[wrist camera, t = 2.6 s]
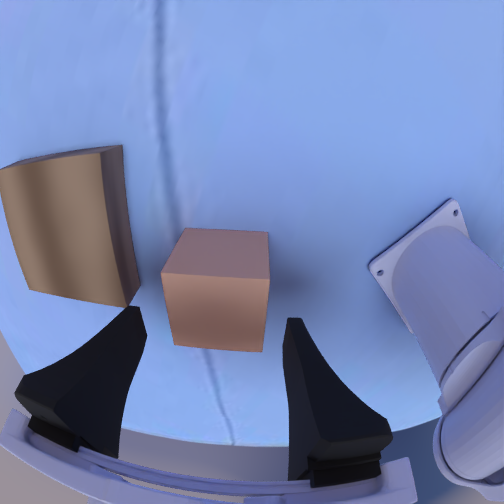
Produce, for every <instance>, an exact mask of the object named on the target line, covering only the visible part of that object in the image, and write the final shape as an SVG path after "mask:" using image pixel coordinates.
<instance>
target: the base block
mask: <svg viewBox="0 0 504 504" xmlns="http://www.w3.org/2000/svg"><path fill="white" fill-rule="evenodd" d="M0 193H1V198H2V203H3V208H4V212H5V216H6V220H7V224H8V228H9V232H10V235H11V239H12V242H13V245H14V248H15V252H16V255H17V258H18V261H19V264H20V266H21V269H22V272H23V274H24V277H25V280H26V282H27V285H28V287H29V290H33V291H38V292H42V293H47V294H51V295H56V296H61V297H66V298H71V299H76V300H81V301H87V302H92V303H98V304H104V305H110V306H116V307H123V308H126V307H127V306H129V304H130V303H131V301H132V299H133V297H134V296H135V294H136V292H137V290H138V289H139V287H140V281H139V276H138V271H137V266H136V260H135V255H134V249H133V243H132V236H131V230H130V223H129V215H128V207H127V198H126V189H125V178H124V165H123V148H122V145H116V146H106V147H97V148H89V149H82V150H75V151H68V152H62V153H56V154H50V155H45V156H40V157H35V158H30V159H25V160H21V161H18V162H15V163H13V164H11V165H8V166H6V167H4V168H2V169H0Z"/></svg>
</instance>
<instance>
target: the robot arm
mask: <svg viewBox="0 0 504 504" xmlns="http://www.w3.org/2000/svg"><path fill="white" fill-rule="evenodd" d="M454 210H455V213H454V214H453V212H454ZM369 270H370V272H371V273H372V275H373V276H374V277H375V279H376V280H377V282H378V283H379V285H380V286H381V288H382V289H383V291H384V292H385V293H386V295H387V296H388V298H389V299H390V301H391V303H392V304H393V306H394V307H395V309H396V310H397V312H398V313H399V315H400V316H401V318H402V320H403V321H404V323H405V324H406V326H407V328H408V329H409V331H410V332H411V333H414V334H415V336H416V338H417V340H418V342H419V344H420V346H421V348H422V350H423V352H424V355H425V357H426V359H427V361H428V363H429V365H430V367H431V370H432V372H433V374H434V376H435V378H436V381H437V383H438V385H439V388H440V389H441V393H442V394H441V396H440V398H439V399H438V403H439V406H440V409H441V411H442V414H443V415H442V416H441V418H440V420H439V421H438V423H437V426H436V429H435V432H434V437H433V453H434V457H435V461H436V463H437V466H438V468H439V469H440V471H441V473H442V474H443V475H444V476H445V477H446V478H447V479H448V480H450V481H451V482H453V483H455V484H457V485H463V486H468V487H471V488H474V489H476V490H477V491H479V492H480V493H481V494H482V495H483V496H484V497H485V498H486V499H487V500H490V501H500V502H504V271H503V270H502V269H501V268H500V267H499V266H498V265H497V264H496V263H495V262H494V261H493V260H492V259H491V258H490V257H489V256H488V255H487V254H485V253H484V252H483V251H482V250H481V249H480V248H479V247H478V246H477V245H476V244H474V243H473V242H472V241H471V240H470V237H469V234H468V231H467V228H466V224H465V221H464V218H463V215H462V213H461V210H460V207H459V204H458V202H457V201H456V200H454V199H450V200H448V201H447V202H446V203H445V204H444V205H442V206H441V207H440V208H439V209H438V210H437V211H435V212H434V213H433V214H432V215H431V216H429V217H428V218H427V219H426V220H425V221H423V222H422V223H421V224H420V225H418V226H417V227H416V228H415V229H413V230H412V231H411V232H410V233H408V234H407V235H406V236H405V237H403V238H402V239H401V240H399V241H398V242H397V243H396V244H394V245H393V246H392V247H390V248H389V249H388V250H386V251H385V252H384V253H382V254H381V255H380V256H378V257H377V258H376V259H374V260H373V261H372V262H371V263H370V265H369ZM379 270H381V272H380V273H377V272H378V271H379ZM146 339H147V333H146V329H145V326H144V322H143V319H142V315H141V311H140V307H137V306H127V307H126V308H125V309H124V310H123V311H122V312H121V313H120V314H119V315H117V316H116V317H115V318H114V319H113V320H112V321H111V322H110V323H109V324H108V325H107V326H105V327H104V328H103V329H102V330H101V331H100V332H99V333H97V334H96V335H95V336H94V337H93V338H91V339H90V340H89V341H88V342H87V343H85V344H84V345H83V346H81V347H80V348H78V349H77V350H76V351H74V352H73V353H71V354H69V355H68V356H66V357H64V358H63V359H61V360H59V361H57V362H56V363H54V364H52V365H50V366H47V367H45V368H43V369H41V370H38V371H35V372H33V373H30V374H27V375H24V376H23V378H22V380H21V382H20V383H19V385H18V387H17V389H16V391H15V397H16V398H17V400H18V401H19V402H20V403H21V404H22V405H23V406H24V407H25V408H26V409H27V411H29V413H31V414H32V417H31V419H30V418H28V417H27V416H25V415H24V414H22V413H20V412H18V411H17V410H15V409H12V410H11V412H10V414H9V416H8V418H7V421H6V423H5V425H4V427H3V429H2V432H1V434H0V445H1V446H2V447H4V448H5V449H6V450H8V451H9V452H10V453H12V454H13V455H15V456H16V457H18V458H19V459H20V460H22V461H23V462H25V463H27V464H28V465H30V466H31V467H33V468H35V469H36V470H38V471H40V472H41V473H43V474H45V475H46V476H48V477H50V478H52V479H54V480H55V481H57V482H60V483H61V484H63V485H65V486H67V487H69V488H71V489H74V490H75V491H78V492H80V493H82V494H84V495H87V496H89V497H88V502H87V504H412V503H415V502H417V500H418V499H417V494H416V488H415V484H414V479H413V474H412V470H411V466H410V462H409V458H408V457H405V458H402V459H398V460H395V461H391V462H387V463H384V464H382V465H380V464H379V460H380V459H381V454H380V451H381V450H383V449H384V448H385V447H386V446H387V445H389V444H390V443H391V441H392V440H393V436H392V432H391V429H390V426H389V424H388V421H387V419H386V418H384V417H383V416H381V415H380V414H378V413H377V412H375V411H374V410H372V409H371V408H370V407H369V406H367V405H366V404H365V403H364V402H363V401H361V400H360V399H359V398H358V397H357V396H356V395H355V394H354V393H353V392H352V391H351V390H350V389H349V388H348V387H347V386H346V385H345V384H344V383H343V382H342V381H341V380H340V378H339V377H338V376H337V375H336V374H335V372H334V371H333V370H332V369H331V367H330V366H329V364H328V363H327V362H326V360H325V359H324V357H323V356H322V354H321V353H320V351H319V350H318V348H317V346H316V345H315V343H314V341H313V340H312V338H311V336H310V334H309V332H308V331H307V329H306V327H305V324H304V322H303V320H302V319H301V318H288V319H287V324H286V330H285V335H284V341H283V346H282V347H283V369H284V377H285V384H286V391H287V398H288V407H289V467H288V481H274V482H273V481H272V482H271V481H270V482H259V481H257V482H256V481H233V480H220V479H210V478H202V477H194V476H188V475H181V474H176V473H171V472H165V471H161V470H156V469H152V468H148V467H144V466H140V465H136V464H132V463H129V462H125V461H122V460H119V459H118V453H119V439H120V431H121V423H122V418H123V412H124V407H125V403H126V398H127V394H128V391H129V388H130V385H131V382H132V380H133V377H134V375H135V372H136V369H137V367H138V364H139V362H140V359H141V357H142V354H143V351H144V347H145V343H146ZM104 469H105V470H104ZM109 471H110V472H109ZM111 472H113V473H111ZM114 473H116V474H120V475H123V476H126V477H129V478H133V479H136V480H140V481H144V482H148V483H152V484H156V485H161V486H165V487H170V488H175V489H181V490H187V491H193V492H201V493H208V494H218V495H230V496H250V497H246V498H244V503H234V502H224V501H216V500H209V499H202V498H196V497H191V496H185V495H180V494H174V493H170V492H165V491H160V490H156V489H151V488H147V487H143V486H139V485H135V484H132V483H130V482H128V481H126V480H124V479H123V478H122V477H121V476H118V475H116V474H114Z"/></svg>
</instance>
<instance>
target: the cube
mask: <svg viewBox="0 0 504 504" xmlns="http://www.w3.org/2000/svg"><path fill="white" fill-rule="evenodd" d="M161 278H162V284H163V290H164V296H165V302H166V307H167V312H168V317H169V322H170V327H171V332H172V337H173V341H174V345H179V346H187V347H196V348H206V349H218V350H231V351H247V352H262V350H263V341H264V332H265V323H266V313H267V304H268V294H269V285H270V268H269V247H268V232H259V231H240V230H219V229H197V228H185V230H184V231H183V233H182V235H181V237H180V238H179V240H178V242H177V244H176V245H175V247H174V249H173V251H172V253H171V254H170V256H169V258H168V260H167V262H166V263H165V265H164V267H163V269H162V271H161Z"/></svg>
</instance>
